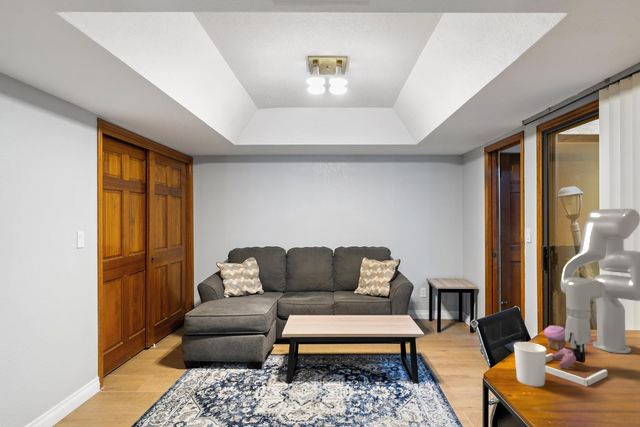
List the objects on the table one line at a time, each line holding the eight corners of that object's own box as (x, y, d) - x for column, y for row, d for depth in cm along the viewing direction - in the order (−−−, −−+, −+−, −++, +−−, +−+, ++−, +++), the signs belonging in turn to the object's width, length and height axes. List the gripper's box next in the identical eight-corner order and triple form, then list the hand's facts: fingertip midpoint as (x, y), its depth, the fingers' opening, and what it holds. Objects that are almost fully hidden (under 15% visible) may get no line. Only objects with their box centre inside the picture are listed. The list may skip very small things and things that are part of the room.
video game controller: (571, 374, 132) (580, 358, 131) (558, 367, 133) (567, 351, 133) (563, 363, 141) (571, 348, 140) (550, 357, 143) (559, 342, 142)
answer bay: (550, 358, 143) (550, 353, 143) (607, 375, 127) (607, 370, 127) (529, 366, 136) (529, 361, 136) (587, 386, 119) (586, 380, 119)
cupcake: (540, 347, 155) (540, 324, 155) (551, 344, 159) (550, 321, 159) (562, 354, 147) (562, 330, 147) (573, 350, 151) (573, 326, 152)
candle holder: (509, 375, 129) (508, 341, 129) (536, 375, 128) (536, 341, 128) (523, 388, 119) (523, 351, 119) (553, 388, 118) (552, 351, 119)
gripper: (576, 308, 143) (578, 354, 143) (557, 313, 135) (558, 362, 135) (598, 312, 137) (600, 360, 136) (579, 318, 129) (581, 369, 129)
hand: (579, 361), depth 136 cm, fingers closed
